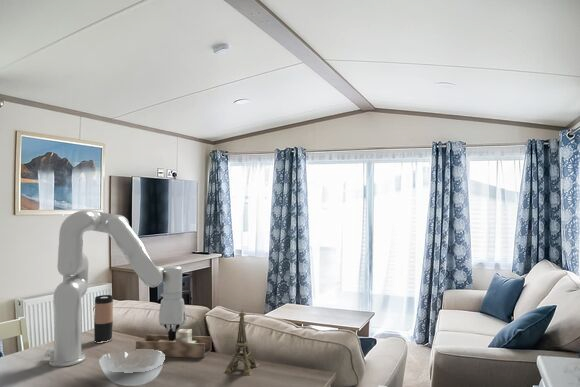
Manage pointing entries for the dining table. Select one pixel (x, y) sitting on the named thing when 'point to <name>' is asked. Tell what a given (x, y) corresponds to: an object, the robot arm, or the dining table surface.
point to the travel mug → (103, 318)
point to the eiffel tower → (244, 354)
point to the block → (184, 335)
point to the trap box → (177, 346)
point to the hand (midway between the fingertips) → (172, 340)
